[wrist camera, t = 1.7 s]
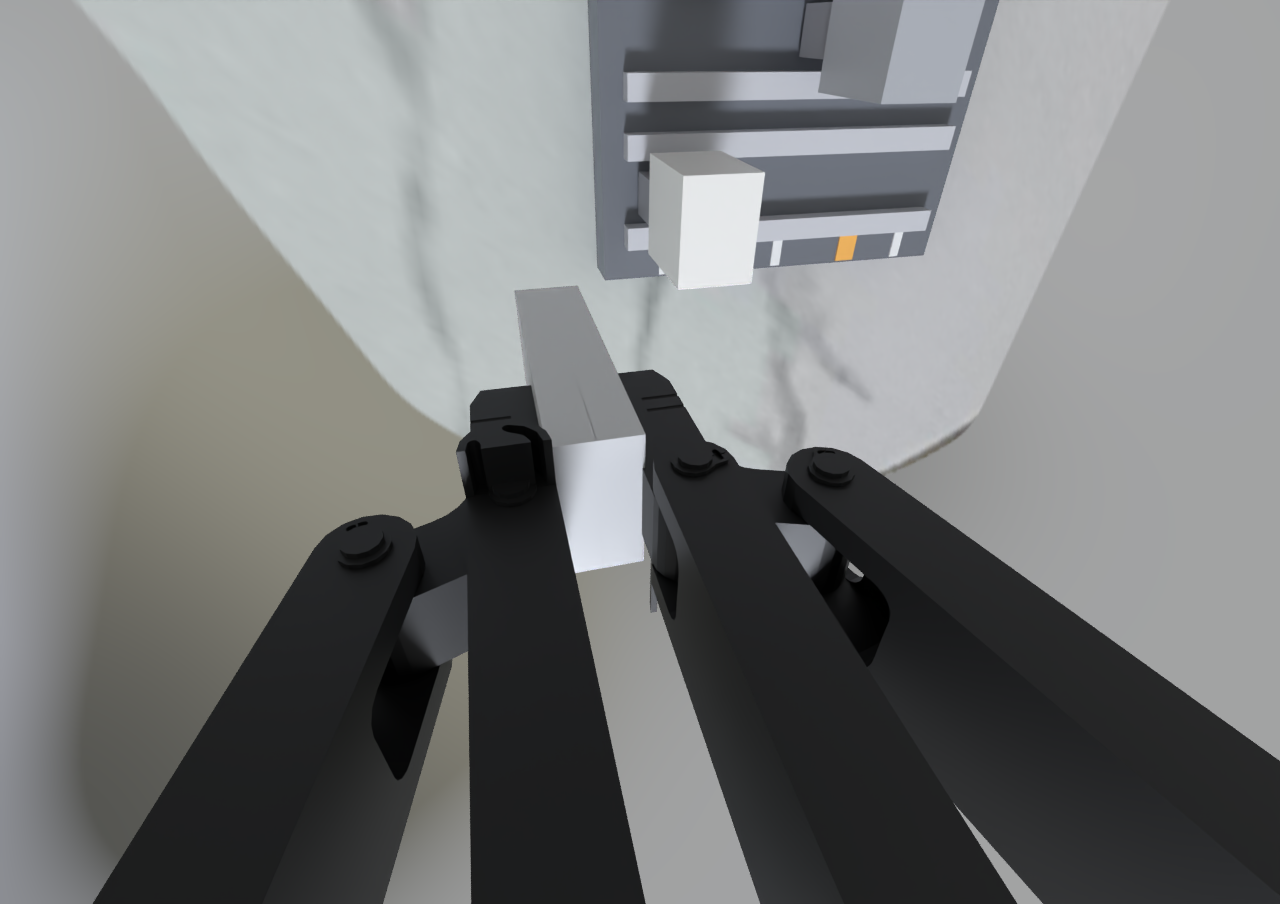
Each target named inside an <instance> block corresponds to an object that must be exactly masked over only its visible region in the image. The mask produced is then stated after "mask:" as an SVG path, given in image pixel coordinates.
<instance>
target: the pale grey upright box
mask: <svg viewBox="0 0 1280 904" xmlns="http://www.w3.org/2000/svg"><path fill="white" fill-rule="evenodd" d="M984 3H985V0H833V2H822V3H807V4H806V11H805V18H804V25H803V32H802V39H801V46H800V54H799V57H803V58H814V59H823V64H822V70H821V77H820V83H819V89H818V93H824V94H829V95H834V96H840V97H845V98H850V99H855V100H861V101H866V102H871V103H877V104H922V103H956V101H957V97H958V94H959V90H960V87H961V83H962V80H963V76H964V73H965V69H966V66H967V62H968V59H969V55H970V52H971V48H972V45H973V41H974V38H975V34H976V31H977V27H978V24H979V20H980V17H981V13H982V10H983V6H984Z"/></svg>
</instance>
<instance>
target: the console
mask: <svg viewBox="0 0 1280 904" xmlns="http://www.w3.org/2000/svg"><path fill="white" fill-rule="evenodd" d="M822 2H833V0H588V15H589V43H590V71H591V99H592V127H593V155H594V183H595V210H596V238H597V266H598V269H599V271H600V272H601V274H602V276H603V278H604V279H605V280H615V279H628V278H640V277H653V276H666V275H665V273H664V272H663V271H662V270H661V269H660V267H659V266H658V265H657V264H656V262H655V261H654V260H653V259H652V258H651V256H650V255H649V254H648V241H649V225H648V224H647V223H646V222H645V221H644V220H643V219H642V218H641V217H640V215H639V214H638V177H639V172H641V171H650V153H668V152H697V151H722V152H724V153H726V154H728V155H730V156H732V157H734V158H736V159H739V160H741V161H743V162H745V163H747V164H749V165H751V166H753V167H755V168H757V169H759V170H761V171H763V172H765V177H764V185H763V193H762V201H761V209H760V217H759V225H758V233H757V241H756V249H755V257H754V265H753V269H755V268H767V267H780V266H793V265H805V264H818V263H831V262H844V261H856V260H869V259H882V258H894V257H907V256H920V255H924V252H925V248H926V245H927V242H928V238H929V235H930V232H931V228H932V225H933V221H934V218H935V215H936V211H937V208H938V205H939V201H940V198H941V195H942V191H943V188H944V184H945V181H946V178H947V174H948V171H949V168H950V164H951V161H952V158H953V154H954V151H955V147H956V144H957V141H958V137H959V134H960V131H961V127H962V124H963V121H964V117H965V114H966V111H967V107H968V104H969V100H970V97H971V94H972V90H973V87H974V84H975V80H976V77H977V74H978V70H979V67H980V63H981V60H982V57H983V53H984V50H985V47H986V43H987V40H988V37H989V33H990V30H991V26H992V23H993V20H994V16H995V13H996V10H997V6H998V3H999V0H985V3H984V6H983V10H982V13H981V17H980V20H979V24H978V27H977V31H976V34H975V38H974V41H973V45H972V48H971V52H970V55H969V59H968V62H967V66H966V69H965V73H964V76H963V80H962V83H961V87H960V90H959V94H958V97H957V101H956V103H922V104H877V103H871V102H866V101H861V100H855V99H850V98H845V97H840V96H834V95H829V94H824V93H818V89H819V83H820V77H821V70H822V64H823V59H814V58H803V57H799V54H800V46H801V39H802V32H803V25H804V18H805V11H806V4H807V3H822Z"/></svg>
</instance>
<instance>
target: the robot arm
mask: <svg viewBox="0 0 1280 904" xmlns="http://www.w3.org/2000/svg"><path fill="white" fill-rule="evenodd" d="M515 299H516V307H517V315H518V323H519V331H520V339H521V347H522V355H523V363H524V371H525V379H526V386H519V387H510V388H501V389H493V390H484V391H480V392H479V394H478V395H477V396H476V398H475V399H474V401H473V402H472V403H471V405H470V422H471V424H470V431H471V432H469V433H468V434H467V435H466V436H465V437H464V438H463V439H462V440H461V441H460V442H459V445H458V448H457V450H456V455H457V459H458V463H459V468H460V472H461V477H462V482H463V486H464V490H465V495H466V499H465V500H464V501H463V503H462V504H460V506H459V507H458V508H456V509H455V510H453V511H452V512H450V513H449V514H448V515H446V516H444V517H442V518H440V519H437V520H435V521H433V522H431V523H428V524H425V525H423V526H420V527H418V528H415V529H414V528H413V526H412V525H411V523H409V522H407V521H405V520H404V519H402V518H400V517H396V516H389V515H374V516H366V517H361V518H359V519H356V520H353V521H350V522H348V523H345V524H343V525H341V526H340V527H338V528H336V529H335V530H333V531H332V532H330V533H329V534H327V535H326V536H325V537H324V538H323V539H322V540H321V542H320V543H319V544H318V545H317V546H316V547H315V548H314V550H313V551H312V553H311V555H310V556H309V558H308V559H307V561H306V563H305V564H304V566H303V567H302V569H301V571H300V572H299V574H298V575H297V577H296V579H295V580H294V582H293V584H292V585H291V587H290V589H289V590H288V591H287V593H286V595H285V596H284V598H283V599H282V601H281V603H280V604H279V606H278V608H277V609H276V611H275V612H274V614H273V616H272V617H271V619H270V620H269V622H268V624H267V625H266V627H265V628H264V630H263V632H262V633H261V635H260V636H259V638H258V640H257V641H256V643H255V644H254V646H253V648H252V649H251V651H250V653H249V654H248V656H247V657H246V659H245V660H244V662H243V664H242V665H241V667H240V669H239V670H238V672H237V673H236V675H235V676H234V678H233V680H232V681H231V683H230V684H229V686H228V688H227V689H226V691H225V692H224V694H223V696H222V697H221V699H220V700H219V702H218V704H217V705H216V707H215V709H214V710H213V712H212V713H211V715H210V716H209V718H208V720H207V721H206V723H205V725H204V726H203V728H202V729H201V731H200V733H199V734H198V736H197V738H196V739H195V741H194V742H193V744H192V745H191V747H190V749H189V750H188V752H187V753H186V755H185V756H184V758H183V760H182V761H181V763H180V764H179V766H178V768H177V769H176V771H175V773H174V774H173V776H172V778H171V779H170V781H169V782H168V784H167V785H166V787H165V789H164V790H163V792H162V793H161V795H160V797H159V798H158V800H157V802H156V803H155V805H154V806H153V808H152V810H151V811H150V813H149V814H148V816H147V817H146V819H145V821H144V822H143V824H142V826H141V827H140V829H139V830H138V832H137V833H136V835H135V837H134V838H133V840H132V841H131V843H130V845H129V846H128V848H127V849H126V851H125V853H124V854H123V856H122V858H121V859H120V861H119V862H118V864H117V866H116V867H115V869H114V870H113V872H112V873H111V875H110V877H109V878H108V880H107V881H106V883H105V885H104V887H103V888H102V890H101V891H100V893H99V895H98V896H97V898H96V899H95V901H94V902H93V904H383V901H384V898H385V894H386V891H387V887H388V884H389V881H390V877H391V873H392V870H393V867H394V864H395V860H396V857H397V853H398V850H399V846H400V843H401V839H402V836H403V832H404V829H405V826H406V822H407V819H408V815H409V812H410V808H411V805H412V801H413V798H414V795H415V791H416V788H417V784H418V781H419V777H420V774H421V770H422V767H423V764H424V760H425V757H426V753H427V749H428V746H429V743H430V739H431V736H432V732H433V729H434V726H435V722H436V718H437V715H438V712H439V708H440V705H441V701H442V698H443V694H444V691H445V687H446V684H447V681H448V677H449V674H450V670H451V667H452V659H453V658H455V657H457V656H459V655H461V654H463V653H465V652H467V651H468V679H469V680H468V683H469V758H470V759H469V760H470V836H471V904H646V903H645V899H644V894H643V889H642V885H641V880H640V875H639V871H638V866H637V861H636V856H635V852H634V847H633V843H632V838H631V833H630V828H629V824H628V819H627V814H626V809H625V805H624V800H623V795H622V791H621V786H620V782H619V777H618V772H617V767H616V763H615V759H614V753H613V749H612V744H611V739H610V734H609V730H608V725H607V721H606V716H605V711H604V706H603V702H602V697H601V692H600V688H599V683H598V678H597V674H596V669H595V664H594V659H593V655H592V650H591V645H590V641H589V636H588V631H587V627H586V622H585V617H584V612H583V608H582V603H581V598H580V594H579V590H578V584H577V580H576V575H575V573H578V572H583V571H589V570H595V569H600V568H606V567H611V566H617V565H622V564H628V563H633V562H639V561H644V541H645V544H646V546H647V549H648V552H649V555H650V558H651V578H650V579H651V580H650V610H651V612H656V611H657V601H658V604H659V607H660V610H661V613H662V616H663V619H664V622H665V625H666V627H667V631H668V633H669V637H670V640H671V642H672V645H673V648H674V651H675V654H676V657H677V660H678V663H679V666H680V669H681V672H682V675H683V678H684V681H685V683H686V687H687V689H688V692H689V695H690V698H691V701H692V704H693V707H694V710H695V713H696V716H697V719H698V722H699V725H700V728H701V730H702V733H703V737H704V739H705V742H706V745H707V748H708V751H709V754H710V757H711V760H712V763H713V766H714V769H715V771H716V775H717V778H718V780H719V784H720V786H721V789H722V792H723V795H724V798H725V801H726V804H727V807H728V810H729V813H730V816H731V819H732V822H733V824H734V828H735V831H736V834H737V836H738V839H739V842H740V845H741V848H742V851H743V854H744V857H745V860H746V863H747V866H748V869H749V872H750V875H751V877H752V880H753V883H754V886H755V889H756V892H757V895H758V898H759V901H760V904H1017V903H1016V901H1015V899H1014V898H1013V896H1012V895H1011V893H1010V891H1009V890H1008V888H1007V887H1006V885H1005V884H1004V882H1003V881H1002V879H1001V878H1000V876H999V874H998V873H997V871H996V869H995V868H994V867H993V865H992V863H991V862H990V860H989V858H988V857H987V855H986V854H985V852H984V851H983V849H982V848H981V846H980V844H979V843H978V841H977V840H976V838H975V836H974V835H973V833H972V832H971V830H970V829H969V827H968V825H967V824H966V822H965V821H964V819H963V817H962V816H961V814H960V813H959V811H958V810H957V808H956V807H955V805H956V806H957V807H958V809H959V810H960V811H961V812H962V813H963V814H964V815H965V816H966V818H967V819H968V820H969V821H970V822H971V823H972V824H973V825H974V826H975V827H976V829H977V830H978V831H979V832H980V833H981V834H982V835H983V837H984V838H985V839H986V840H987V841H988V842H989V843H990V844H991V846H992V847H993V848H994V849H995V850H996V851H997V852H998V853H999V855H1000V856H1001V857H1002V858H1003V859H1004V860H1005V861H1006V862H1007V863H1008V865H1009V866H1010V867H1011V868H1012V869H1013V870H1014V871H1015V873H1017V875H1018V876H1019V877H1020V878H1021V879H1022V880H1023V882H1024V883H1025V884H1026V885H1027V886H1028V887H1029V888H1030V889H1031V890H1032V892H1033V893H1034V894H1035V895H1036V896H1037V897H1038V898H1039V899H1040V900H1041V902H1042V903H1043V904H1280V761H1279V760H1277V759H1276V758H1275V757H1273V756H1272V755H1271V754H1269V753H1268V752H1267V751H1265V750H1264V749H1262V748H1261V747H1259V746H1258V745H1257V744H1255V743H1254V742H1253V741H1251V740H1250V739H1248V738H1247V737H1246V736H1244V735H1243V734H1241V733H1240V732H1239V731H1237V730H1236V729H1235V728H1233V727H1232V726H1230V725H1229V724H1228V723H1226V722H1225V721H1223V720H1222V719H1221V718H1219V717H1218V716H1216V715H1215V714H1214V713H1212V712H1211V711H1210V710H1208V709H1207V708H1205V707H1204V706H1202V705H1201V704H1200V703H1198V702H1197V701H1196V700H1194V699H1193V698H1191V697H1190V696H1189V695H1187V694H1186V693H1185V692H1183V691H1182V690H1180V689H1179V688H1178V687H1176V686H1175V685H1173V684H1172V683H1171V682H1169V681H1168V680H1166V679H1165V678H1164V677H1162V676H1161V675H1159V674H1158V673H1157V672H1155V671H1154V670H1152V669H1151V668H1150V667H1148V666H1147V665H1146V664H1144V663H1143V662H1141V661H1140V660H1139V659H1137V658H1136V657H1134V656H1133V655H1132V654H1130V653H1129V652H1128V651H1126V650H1125V649H1123V648H1122V647H1121V646H1119V645H1118V644H1116V643H1115V642H1114V641H1112V640H1111V639H1110V638H1108V637H1107V636H1105V635H1104V634H1103V633H1101V632H1099V631H1098V630H1097V629H1096V628H1094V627H1093V626H1091V625H1090V624H1089V623H1087V622H1086V621H1084V620H1083V619H1081V618H1080V617H1079V616H1078V615H1076V614H1075V613H1073V612H1072V611H1071V610H1069V609H1068V608H1066V607H1065V606H1064V605H1062V604H1061V603H1059V602H1058V601H1057V600H1055V599H1054V598H1053V597H1051V596H1049V595H1048V594H1047V593H1045V592H1044V591H1043V590H1041V589H1040V588H1039V587H1037V586H1036V585H1034V584H1033V583H1031V582H1030V581H1029V580H1027V579H1026V578H1025V577H1023V576H1022V575H1021V574H1019V573H1018V572H1016V571H1015V570H1014V569H1012V568H1011V567H1009V566H1008V565H1007V564H1005V563H1004V562H1002V561H1001V560H1000V559H998V558H997V557H995V556H994V555H993V554H991V553H990V552H989V551H987V550H986V549H984V548H983V547H982V546H980V545H979V544H978V543H976V542H975V541H973V540H972V539H970V538H969V537H968V536H966V535H965V534H964V533H962V532H961V531H959V530H958V529H957V528H955V527H954V526H952V525H951V524H950V523H948V522H947V521H946V520H944V519H943V518H941V517H940V516H939V515H937V514H936V513H934V512H933V511H932V510H930V509H929V508H927V507H926V506H925V505H923V504H922V503H921V502H919V501H918V500H916V499H915V498H914V497H912V496H911V495H909V494H908V493H907V492H905V491H904V490H902V489H901V488H900V487H898V486H897V485H896V484H894V483H893V482H891V481H890V480H889V479H887V478H886V477H884V476H883V475H882V474H880V473H879V472H877V471H876V470H875V469H873V468H872V467H871V466H869V465H868V464H866V463H865V462H864V461H862V460H861V459H859V458H857V457H855V456H853V455H851V454H849V453H848V452H844V451H840V450H837V449H833V448H824V447H813V448H807V449H802V450H800V451H798V452H796V453H795V454H793V455H791V457H790V459H789V461H788V462H787V465H786V470H785V471H774V470H759V469H751V468H744V467H741V466H739V465H738V463H737V462H736V460H735V459H734V457H733V456H732V455H731V454H730V453H729V452H728V451H727V450H726V449H724V448H722V447H720V446H718V445H716V444H714V443H710V442H706V441H705V440H704V438H703V436H702V435H701V433H700V431H699V430H698V428H697V426H696V425H695V423H694V421H693V420H692V418H691V416H690V415H689V413H688V411H687V410H686V408H685V407H684V406H683V403H682V401H681V400H680V398H679V396H677V393H676V391H675V389H674V388H673V386H672V384H671V383H670V381H669V380H668V379H666V378H665V377H663V376H662V375H660V374H659V373H657V372H655V371H654V370H645V371H636V372H627V373H617V371H616V369H615V366H614V364H613V362H612V360H611V358H610V355H609V353H608V351H607V349H606V347H605V345H604V342H603V340H602V338H601V336H600V334H599V331H598V329H597V327H596V325H595V323H594V320H593V318H592V316H591V314H590V312H589V310H588V307H587V305H586V303H585V301H584V299H583V296H582V294H581V292H580V290H579V288H578V286H566V287H554V288H541V289H529V290H517V291H515ZM849 562H851V563H852V564H853V565H854V566H855V567H857V568H858V569H859V570H860V571H861V572H862V573H863V574H864V576H863V577H859V576H858V575H856V574H855V573H853V572H852V571H851V570H850V569H849V568H848V565H849ZM954 804H955V805H954Z"/></svg>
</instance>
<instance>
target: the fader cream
mask: <svg viewBox="0 0 1280 904" xmlns="http://www.w3.org/2000/svg"><path fill="white" fill-rule="evenodd" d="M764 177H765V172H763V171H761V170H759V169H757V168H755V167H753V166H751V165H749V164H747V163H745V162H743V161H741V160H739V159H736V158H734V157H732V156H730V155H728V154H726V153H724V152H722V151H697V152H668V153H650V171H641V172H639V177H638V214H639V215H640V217H641V218H642V219H643V220H644V221H645V222H646V223H647V224H648V225H649V241H648V254H649V255H650V256H651V258H652V259H653V260H654V261H655V262H656V264H657V265H658V266H659V267H660V269H661V270H662V271H663V272H664V273H665V275H666V276H667V277H668V278H669V280H670V281H671V282H672V283H673V285H674V286H675V287H676V288H677V289H678V290H684V289H696V288H708V287H719V286H731V285H743V284H751V281H752V273H753V265H754V257H755V249H756V241H757V233H758V225H759V217H760V209H761V201H762V193H763V185H764Z"/></svg>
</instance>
